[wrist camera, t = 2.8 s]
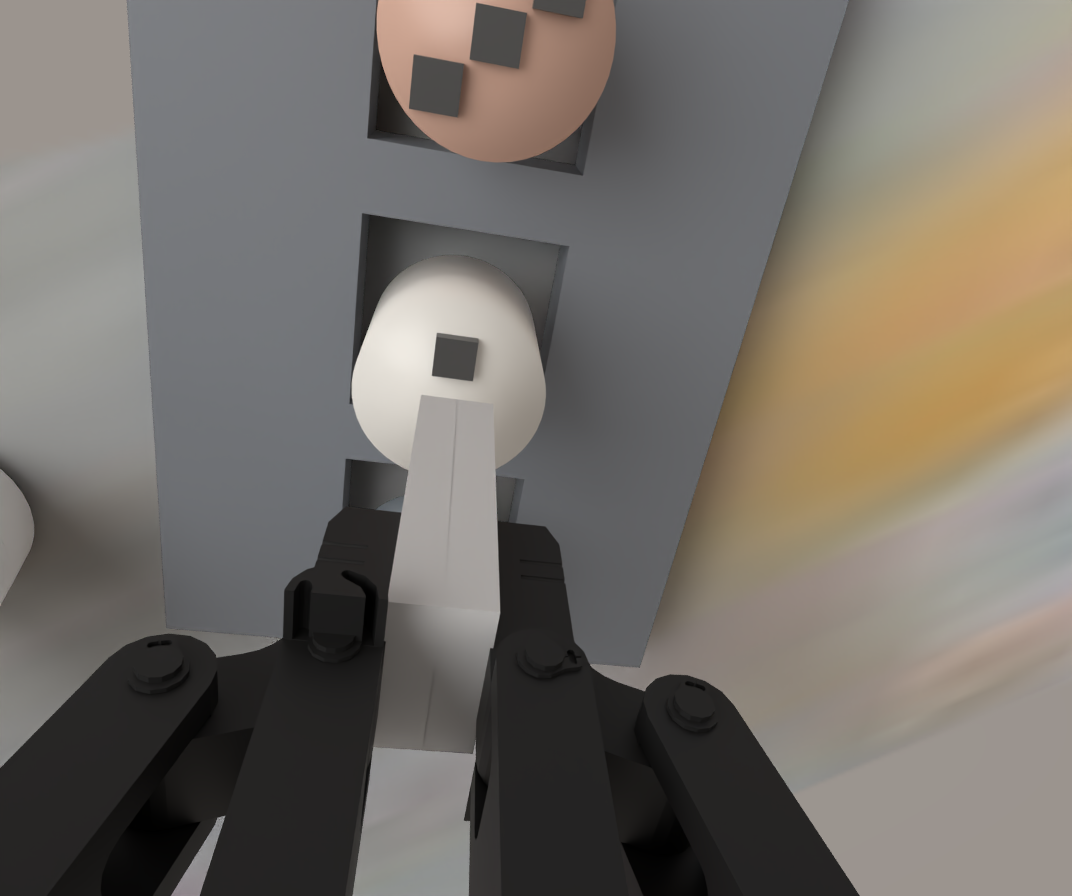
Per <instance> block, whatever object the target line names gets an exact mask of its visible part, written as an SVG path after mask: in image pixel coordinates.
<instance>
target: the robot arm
mask: <svg viewBox="0 0 1072 896" xmlns="http://www.w3.org/2000/svg"><path fill="white" fill-rule="evenodd" d="M564 581H565V578H564V571H563V567H562V558H561V552H560V545H559V543H558V542H557V541H556V539H555V538H554V537H553V535H552V534H551V533H550V532H549V530H548V529H547V528H546V526H538V525H528V524H519V523H510V522H501V521H497V500H496V471H495V441H494V411H493V404H488V403H481V402H473V401H466V400H458V399H450V398H443V397H435V396H427V395H421V399H420V405H419V411H418V417H417V423H416V429H415V435H414V441H413V447H412V453H411V459H410V465H409V471H408V477H407V483H406V489H405V495H404V501H403V507H402V513H401V512H392V511H383V510H374V509H365V508H356V507H347V506H346V507H345V508H344V509H342V510H341V511H340V512H339V513H338V514H337V515H336V516H334V517H333V518H332V519H331V520H330V521H329V522H328V525H327V528H326V531H325V535H324V538H323V541H322V545H321V547H320V551H319V554H318V558H317V561H316V563H315V567H313V568H309V569H306V570H305V571H303V572H301V573H300V574H298V575H297V576H295V577H293V578H292V579H291V581H290V582H289V584H288V585H287V587H286V588H285V589H284V613H283V638H282V639H280V640H279V641H277V642H276V643H274V644H272V645H270V646H268V647H265V648H263V649H260V650H257V651H253V652H249V653H244V654H239V655H232V656H226V657H219V658H216V655H215V654H214V652H213V651H212V650H211V649H210V647H209V646H208V645H207V644H206V643H204V642H202V641H200V640H197V639H195V638H193V637H191V636H185V635H176V634H164V635H157V636H150V637H146V638H143V639H140V640H138V641H135V642H133V643H130V644H128V645H126V646H124V647H123V648H121V649H120V650H119V651H117V652H116V653H115V654H113V655H112V656H111V657H109V658H108V659H107V660H106V661H105V662H104V663H103V664H102V665H101V666H100V667H99V668H98V669H97V670H96V671H95V672H94V673H93V674H92V675H91V676H90V678H89V679H88V680H87V681H86V682H85V683H84V684H83V685H82V686H81V687H80V688H79V689H78V690H77V691H76V692H75V693H74V694H73V695H72V696H71V697H70V698H69V699H68V700H67V701H66V702H65V703H64V704H63V705H62V706H61V707H60V708H59V709H58V710H57V711H56V712H55V713H54V714H53V715H52V716H51V717H50V718H49V719H48V720H47V721H46V722H45V723H44V724H43V725H42V726H41V727H40V728H39V729H38V730H37V731H36V732H35V733H34V734H33V735H32V736H31V737H30V738H29V740H28V741H27V742H26V743H25V744H24V745H23V746H22V747H21V748H20V749H19V750H18V751H17V752H16V753H15V754H14V755H13V756H12V757H11V758H10V759H9V760H8V761H7V762H6V763H5V764H4V765H3V766H2V767H1V768H0V896H171V894H172V893H173V891H174V889H175V888H176V886H177V885H178V883H179V881H180V880H181V878H182V877H183V875H184V873H185V872H186V870H187V869H188V867H189V865H190V864H191V862H192V861H193V859H194V857H195V856H196V854H197V853H198V851H199V849H200V848H201V846H202V845H203V843H204V841H205V840H206V838H207V837H208V835H209V833H210V832H211V830H212V829H213V827H214V825H215V823H216V820H217V817H221V816H225V815H226V816H225V819H224V822H223V826H222V829H221V832H220V835H219V838H218V841H217V844H216V847H215V850H214V853H213V856H212V860H211V863H210V866H209V869H208V872H207V875H206V878H205V881H204V884H203V887H202V890H201V894H200V896H352V894H353V887H354V881H355V874H356V867H357V860H358V853H359V847H360V840H361V833H362V826H363V819H364V812H365V806H366V799H367V792H368V785H369V778H370V768H371V759H372V751H373V747H382V748H396V749H411V750H426V751H440V752H455V753H470V754H473V750H474V745H475V740H476V762H475V767H474V772H473V777H472V782H471V787H470V792H469V797H468V802H467V807H466V812H465V818H464V821H470V865H469V896H859V894H858V893H857V891H856V890H855V888H854V887H853V885H852V883H851V882H850V880H849V879H848V877H847V876H846V874H845V873H844V871H843V870H842V868H841V867H840V865H839V864H838V862H837V861H836V859H835V858H834V856H833V855H832V853H831V852H830V850H829V849H828V847H827V846H826V844H825V842H824V841H823V839H822V838H821V836H820V835H819V834H818V832H817V830H816V829H815V828H814V826H813V824H812V823H811V821H810V820H809V818H808V817H807V815H806V814H805V812H804V811H803V809H802V808H801V807H800V805H799V803H798V802H797V800H796V799H795V797H794V796H793V794H792V792H791V791H790V789H789V788H788V786H787V785H786V783H785V782H784V780H783V779H782V777H781V776H780V774H779V773H778V771H777V770H776V768H775V767H774V765H773V764H772V762H771V761H770V759H769V758H768V756H767V755H766V753H765V752H764V750H763V749H762V747H761V746H760V744H759V742H758V741H757V739H756V738H755V736H754V735H753V733H752V732H751V730H750V729H749V727H748V726H747V724H746V723H745V721H744V720H743V718H742V717H741V715H740V714H739V712H738V711H737V709H736V708H735V706H734V705H733V704H732V703H731V701H730V700H729V699H728V698H727V697H726V696H725V695H724V694H723V693H722V692H721V691H720V690H718V689H717V688H715V687H713V686H712V685H710V684H709V683H707V682H706V681H703V680H700V679H697V678H694V677H691V676H688V675H671V674H670V675H667V676H664V677H660V678H657V679H655V680H654V681H653V682H652V683H651V684H650V685H649V686H648V687H647V688H646V691H642V690H639V689H636V688H633V687H630V686H627V685H624V684H621V683H618V682H616V681H614V680H611V679H609V678H607V677H605V676H603V675H602V674H600V673H599V672H597V671H596V670H594V669H593V668H592V667H591V666H590V664H589V662H588V659H587V657H586V655H585V652H584V651H583V650H582V649H581V648H580V647H579V646H578V645H577V644H576V643H575V641H574V636H573V630H572V623H571V617H570V610H569V604H568V597H567V591H566V584H565V583H564Z"/></svg>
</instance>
